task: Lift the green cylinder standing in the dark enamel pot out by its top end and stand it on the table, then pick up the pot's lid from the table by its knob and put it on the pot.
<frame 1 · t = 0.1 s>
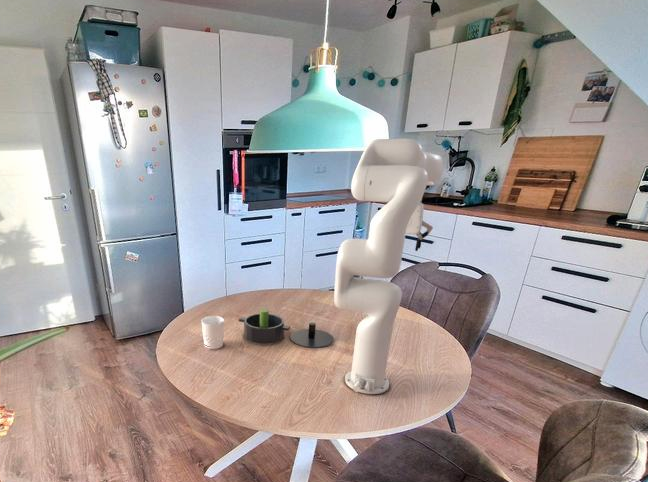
hand: (402, 249, 139), 31 cm above the table, tool pointing down, fingers open, 9 cm apart
white cup: (213, 346, 140), on the table
green cylinder: (263, 335, 146), resting on pot
pot lid: (311, 338, 143), point 1 cm above the table
pot: (263, 336, 146), on the table
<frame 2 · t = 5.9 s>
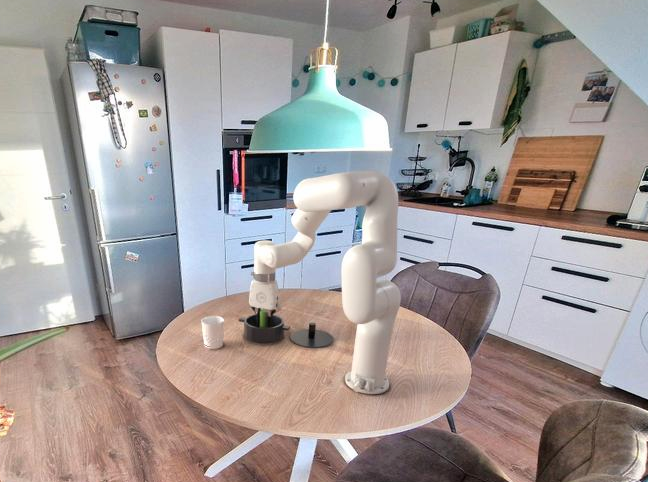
hand: (263, 323, 144), 5 cm above the table, tool pointing down, fingers closed on green cylinder, 3 cm apart
green cylinder: (263, 335, 146), point 1 cm above the table, touching gripper, pot
everything else where it was.
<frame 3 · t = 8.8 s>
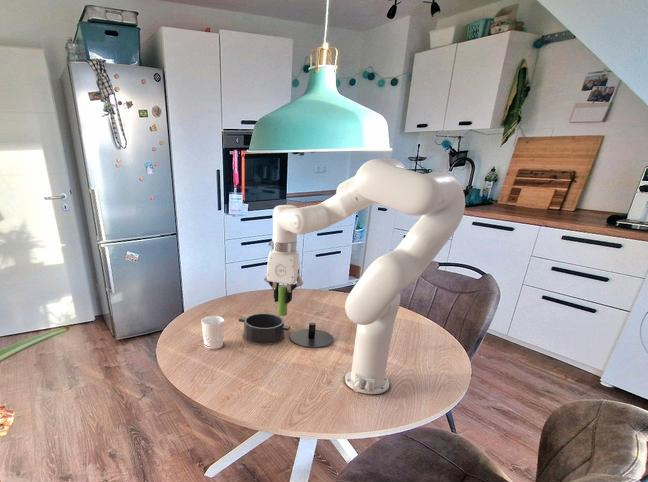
hand: (282, 301, 129), 18 cm above the table, tool pointing down, fingers closed on green cylinder, 3 cm apart
green cylinder: (282, 314, 131), point 13 cm above the table, touching gripper
everything else where it was.
when the fingers open (5 cm above the table, at t = 12.2 s): green cylinder stays where it is, on the table.
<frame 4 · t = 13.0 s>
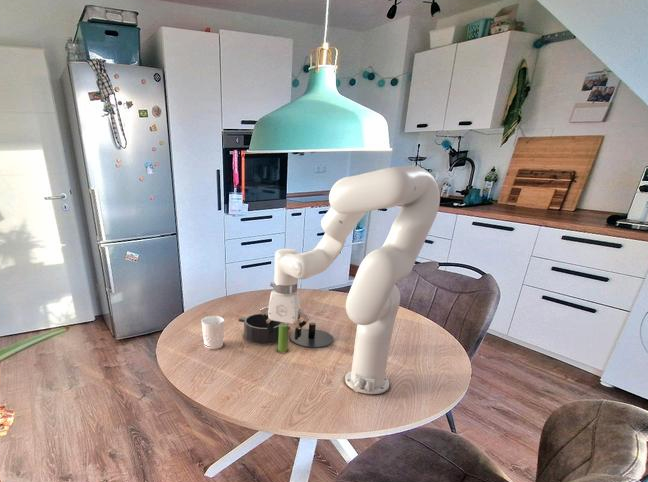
hand: (283, 335, 132), 6 cm above the table, tool pointing down, fingers open, 9 cm apart
green cylinder: (282, 351, 135), on the table
everything else where it was.
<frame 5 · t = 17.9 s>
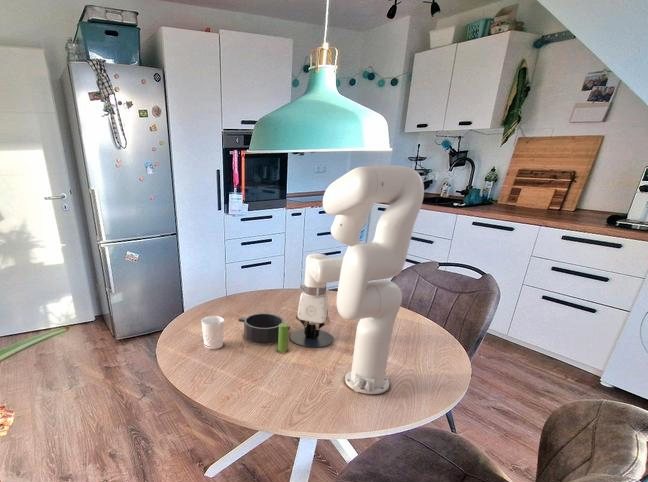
hand: (311, 336, 142), 1 cm above the table, tool pointing down, fingers closed on pot lid, 2 cm apart
pot lid: (311, 338, 143), point 1 cm above the table, touching gripper
everything else where it was.
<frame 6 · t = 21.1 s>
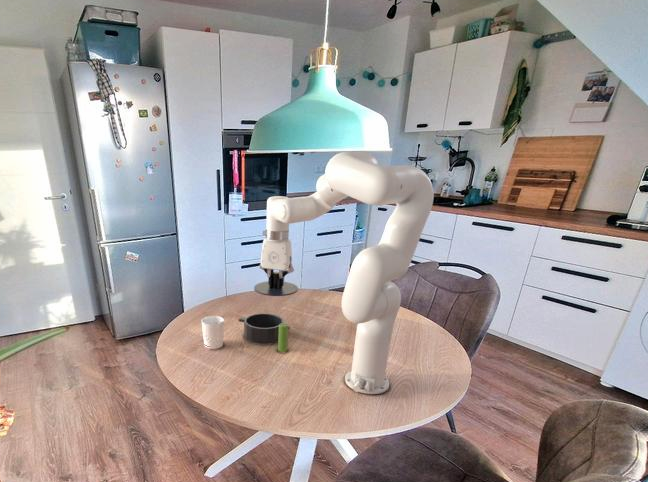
hand: (275, 287, 137), 20 cm above the table, tool pointing down, fingers closed on pot lid, 2 cm apart
pot lid: (275, 288, 138), point 19 cm above the table, touching gripper
everything else where it was.
when the fingers open (7 cm above the table, at t = 24.6 s): pot lid stays where it is, resting on pot.
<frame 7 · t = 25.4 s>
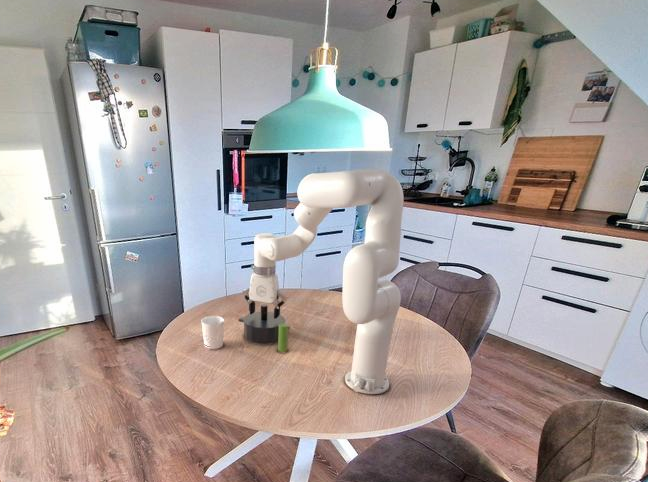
hand: (264, 315, 142), 9 cm above the table, tool pointing down, fingers open, 9 cm apart
pot lid: (264, 320, 143), point 6 cm above the table, touching pot
everything else where it was.
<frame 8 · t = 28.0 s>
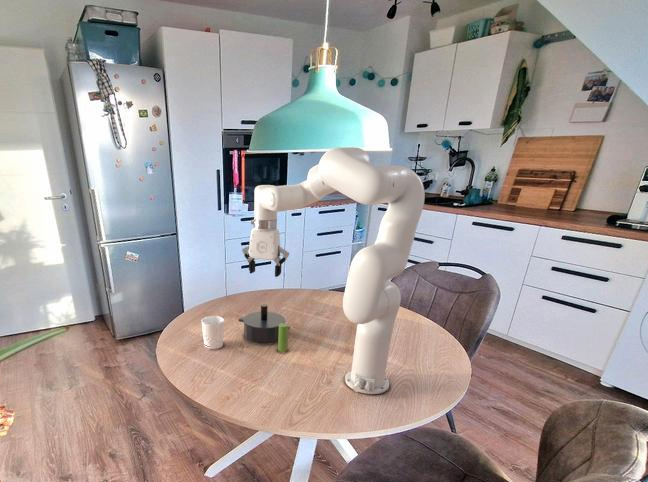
hand: (264, 274, 136), 24 cm above the table, tool pointing down, fingers open, 9 cm apart
nothing on the table moved.
at the end: green cylinder inside the target area (0.2 cm from its centre), on the table; pot lid 0.1 cm off-centre on the pot, point 6.5 cm above the pot's base; pot lid tilted 0° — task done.
